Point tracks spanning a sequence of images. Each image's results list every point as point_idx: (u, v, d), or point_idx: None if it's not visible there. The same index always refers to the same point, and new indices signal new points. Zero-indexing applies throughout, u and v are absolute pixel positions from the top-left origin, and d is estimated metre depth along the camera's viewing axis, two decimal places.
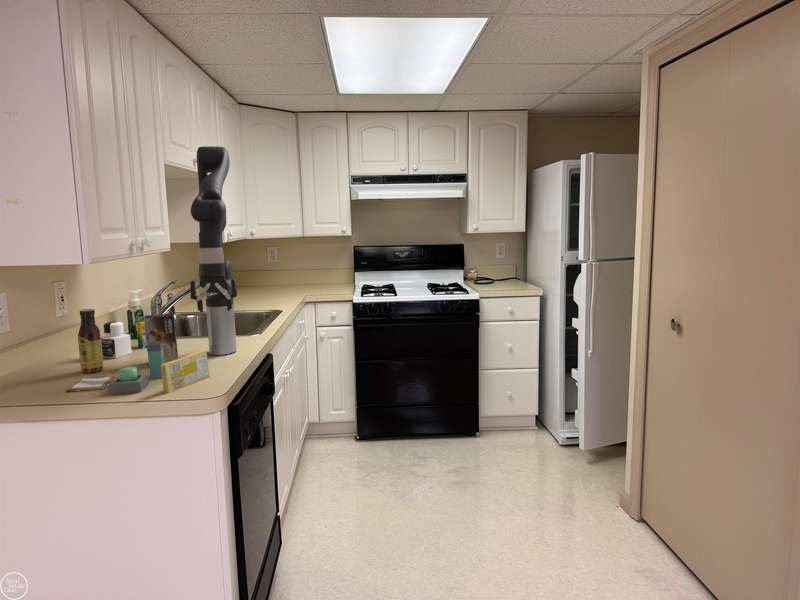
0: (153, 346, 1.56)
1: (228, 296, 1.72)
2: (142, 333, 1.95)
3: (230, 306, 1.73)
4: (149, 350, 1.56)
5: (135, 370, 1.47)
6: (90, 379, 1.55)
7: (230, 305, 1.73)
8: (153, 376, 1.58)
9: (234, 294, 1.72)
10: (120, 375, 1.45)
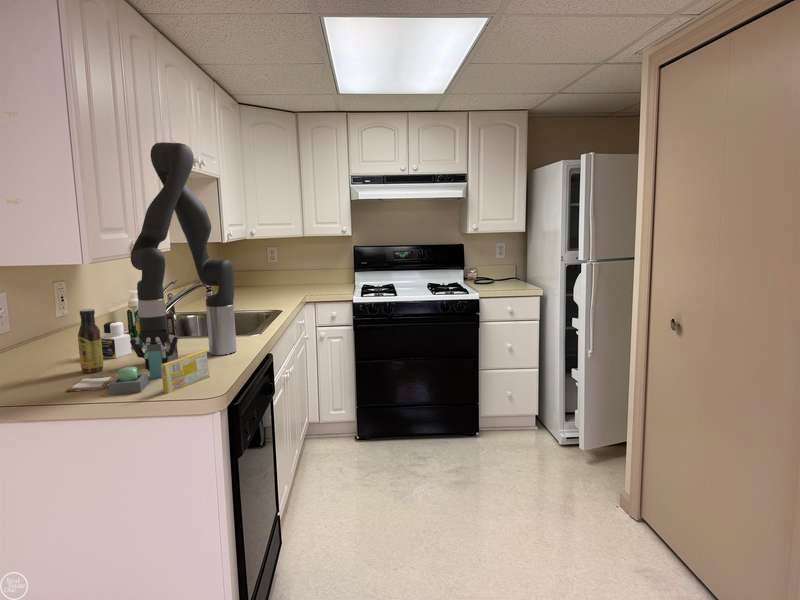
0: (153, 346, 1.56)
1: (163, 354, 1.58)
2: None
3: None
4: (149, 350, 1.56)
5: (135, 370, 1.47)
6: (90, 379, 1.55)
7: None
8: (153, 376, 1.58)
9: (170, 352, 1.58)
10: (120, 375, 1.45)
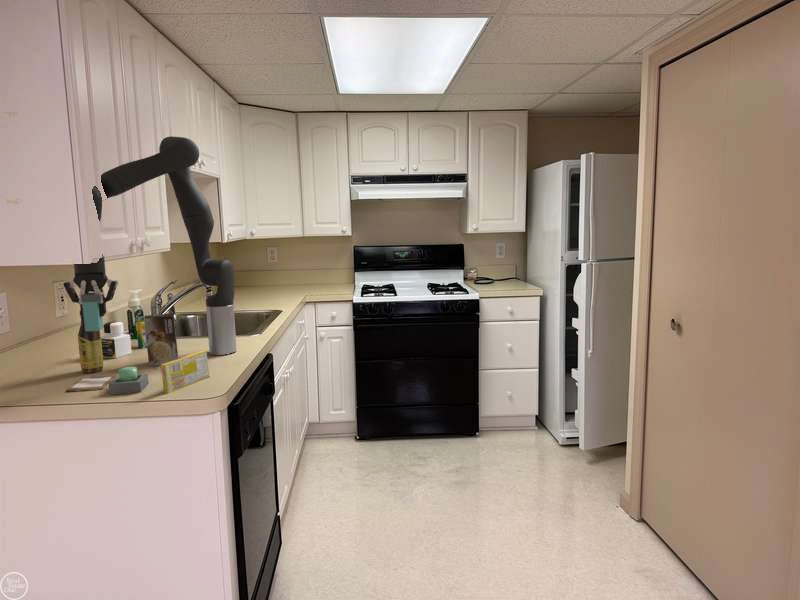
0: (88, 296, 1.45)
1: (100, 300, 1.48)
2: (142, 333, 1.95)
3: (103, 311, 1.49)
4: (84, 301, 1.45)
5: (135, 370, 1.47)
6: (90, 379, 1.55)
7: (103, 310, 1.49)
8: (88, 329, 1.47)
9: (107, 297, 1.48)
10: (120, 375, 1.45)
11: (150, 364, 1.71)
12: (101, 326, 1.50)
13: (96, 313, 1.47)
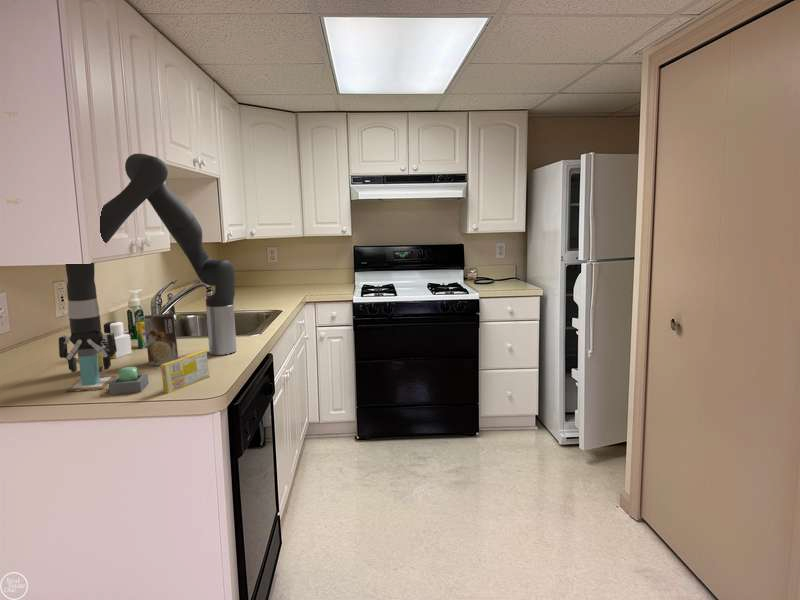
0: (84, 351, 1.48)
1: (104, 353, 1.51)
2: (142, 333, 1.95)
3: (107, 364, 1.52)
4: (80, 355, 1.48)
5: (135, 370, 1.47)
6: None
7: (107, 363, 1.52)
8: (85, 383, 1.49)
9: (111, 351, 1.51)
10: (120, 375, 1.45)
11: (150, 364, 1.71)
12: (97, 379, 1.52)
13: (92, 367, 1.49)
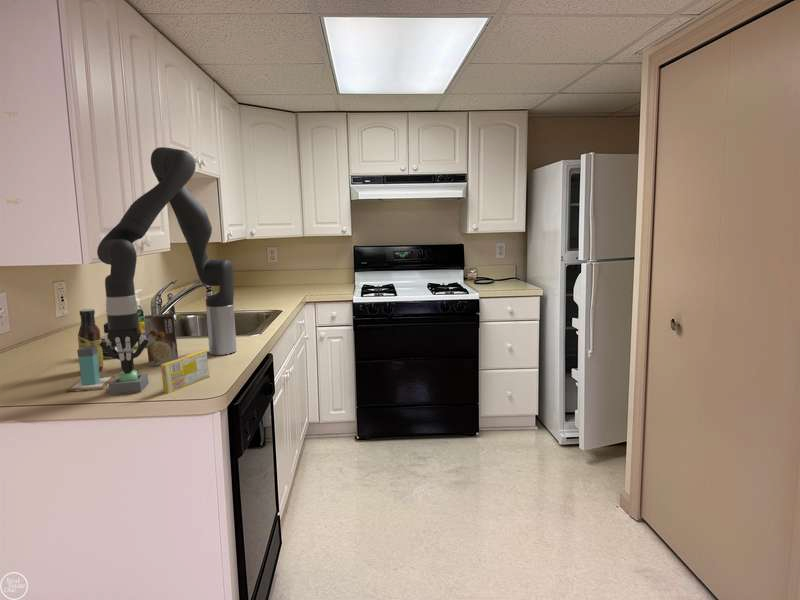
0: (84, 351, 1.48)
1: (128, 356, 1.45)
2: (142, 333, 1.95)
3: (131, 368, 1.46)
4: (80, 355, 1.48)
5: (135, 374, 1.47)
6: None
7: (131, 367, 1.46)
8: (85, 383, 1.49)
9: (135, 354, 1.46)
10: (120, 379, 1.45)
11: (150, 364, 1.71)
12: (97, 379, 1.52)
13: (92, 367, 1.49)
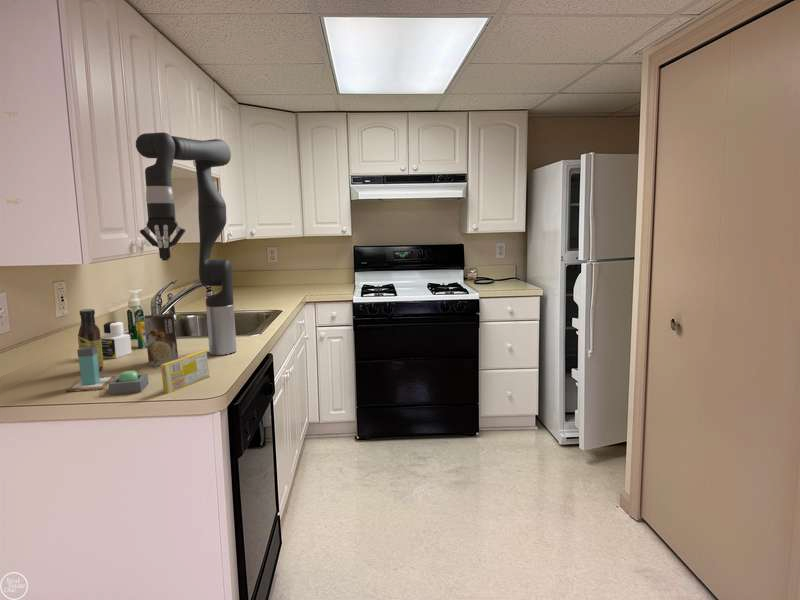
0: (84, 351, 1.48)
1: (165, 244, 1.57)
2: (142, 333, 1.95)
3: (168, 255, 1.58)
4: (80, 355, 1.48)
5: (135, 374, 1.47)
6: None
7: (168, 254, 1.58)
8: (85, 383, 1.49)
9: (172, 242, 1.58)
10: (120, 379, 1.45)
11: (150, 364, 1.71)
12: (97, 379, 1.52)
13: (92, 367, 1.49)
